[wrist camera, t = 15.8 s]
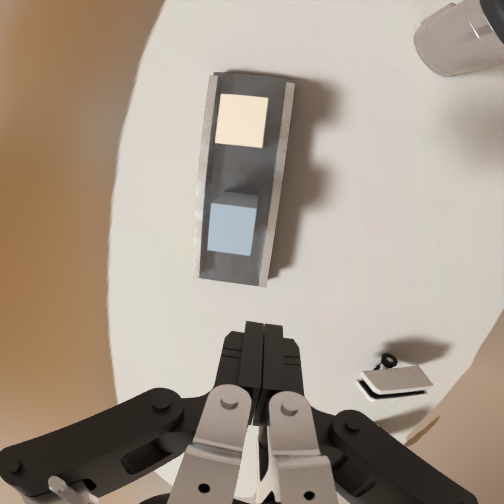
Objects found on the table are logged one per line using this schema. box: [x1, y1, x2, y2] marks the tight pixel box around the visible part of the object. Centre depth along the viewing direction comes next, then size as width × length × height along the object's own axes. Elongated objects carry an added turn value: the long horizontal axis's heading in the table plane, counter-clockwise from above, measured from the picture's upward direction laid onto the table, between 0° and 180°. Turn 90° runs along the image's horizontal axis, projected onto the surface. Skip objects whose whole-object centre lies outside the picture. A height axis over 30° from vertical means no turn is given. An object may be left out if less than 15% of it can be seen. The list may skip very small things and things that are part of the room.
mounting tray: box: [192, 72, 295, 287], centre depth 34 cm, size 28×10×4 cm, turn 173°
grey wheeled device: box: [355, 354, 434, 402], centre depth 42 cm, size 4×10×15 cm
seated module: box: [215, 94, 268, 148], centre depth 28 cm, size 5×5×8 cm
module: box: [207, 191, 259, 256], centre depth 32 cm, size 5×5×8 cm
